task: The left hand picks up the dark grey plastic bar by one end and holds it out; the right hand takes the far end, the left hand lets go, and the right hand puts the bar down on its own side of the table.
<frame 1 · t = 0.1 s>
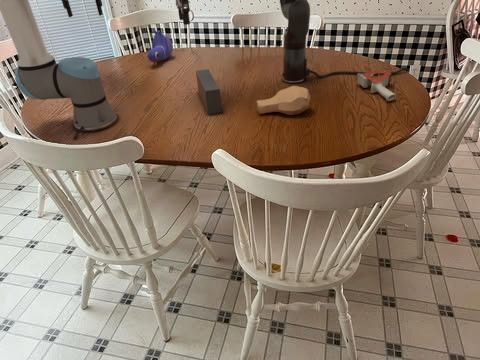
left hand: (86, 15, 157), 28 cm above the table, tool pointing down, fingers open, 13 cm apart
right hand: (184, 22, 131), 29 cm above the table, tool pointing down, fingers open, 8 cm apart
squash: (283, 112, 132), on the table
bar: (209, 101, 143), on the table
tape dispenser: (376, 90, 144), on the table
toy: (160, 62, 189), on the table
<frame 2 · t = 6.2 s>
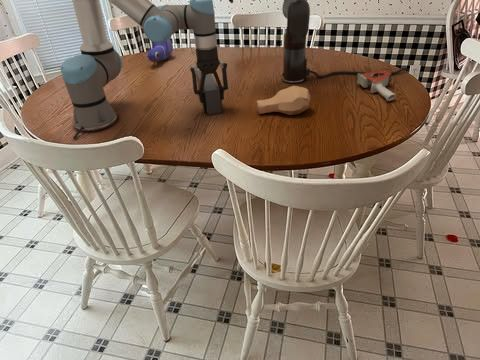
left hand: (212, 108, 137), 1 cm above the table, tool pointing down, fingers closed on bar, 5 cm apart
right hand: (242, 1, 133), 34 cm above the table, tool pointing down, fingers open, 8 cm apart
bar: (209, 101, 143), on the table, touching left hand
everything else where it was.
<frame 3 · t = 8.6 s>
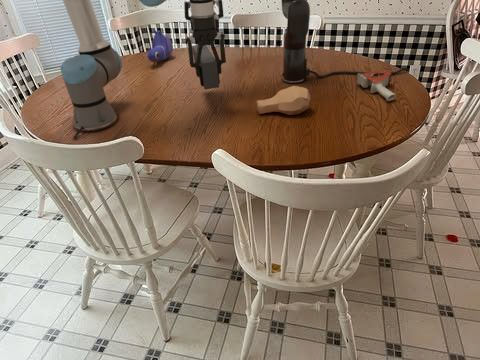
left hand: (210, 83, 131), 11 cm above the table, tool pointing down, fingers closed on bar, 5 cm apart
right hand: (205, 30, 135), 25 cm above the table, tool pointing down, fingers open, 8 cm apart
bar: (206, 77, 137), point 10 cm above the table, touching left hand
everything else where it was.
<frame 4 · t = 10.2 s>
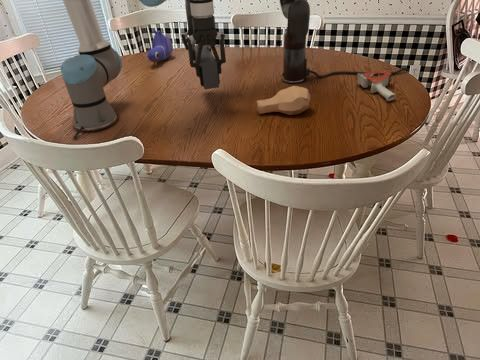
left hand: (210, 83, 131), 11 cm above the table, tool pointing down, fingers closed on bar, 5 cm apart
right hand: (201, 58, 141), 15 cm above the table, tool pointing down, fingers closed on bar, 5 cm apart
bar: (206, 77, 137), point 10 cm above the table, touching left hand, right hand
everything else where it was.
when the left hand's fingers open (11 cm above the table, at t = 11.2 s): bar stays where it is, held by the right hand.
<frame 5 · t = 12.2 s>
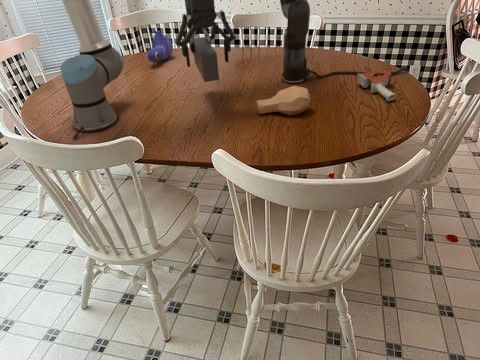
left hand: (207, 63, 125), 19 cm above the table, tool pointing down, fingers open, 13 cm apart
right hand: (201, 51, 139), 18 cm above the table, tool pointing down, fingers closed on bar, 5 cm apart
bar: (206, 70, 136), point 13 cm above the table, touching right hand
everything else where it was.
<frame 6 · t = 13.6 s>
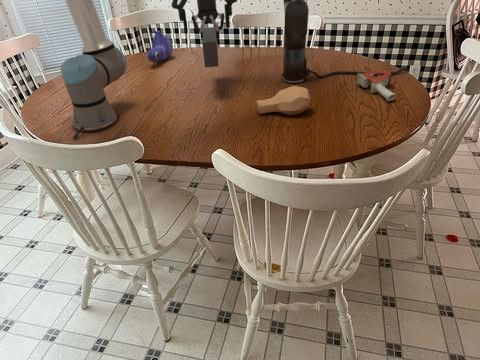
left hand: (207, 29, 114), 31 cm above the table, tool pointing down, fingers open, 13 cm apart
right hand: (210, 40, 152), 18 cm above the table, tool pointing down, fingers closed on bar, 5 cm apart
bar: (211, 57, 148), point 13 cm above the table, touching right hand
everything else where it was.
when the right hand's fingers open (6 cm above the table, at t = 16.9 s): bar stays where it is, on the table.
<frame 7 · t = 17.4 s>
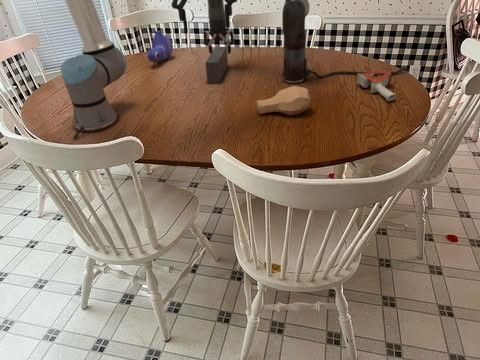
left hand: (207, 29, 114), 31 cm above the table, tool pointing down, fingers open, 13 cm apart
right hand: (220, 53, 170), 7 cm above the table, tool pointing down, fingers open, 8 cm apart
bar: (218, 74, 169), on the table
everything else where it was.
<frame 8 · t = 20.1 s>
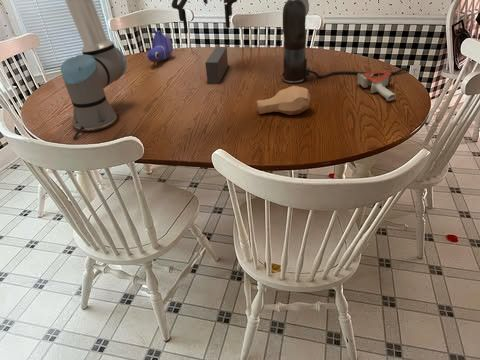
left hand: (207, 29, 114), 31 cm above the table, tool pointing down, fingers open, 13 cm apart
right hand: (215, 3, 157), 29 cm above the table, tool pointing down, fingers open, 8 cm apart
nothing on the table moved.
at the end: bar inside the target area (7.8 cm from its centre), on the table; the left hand is holding nothing; the right hand is holding nothing; bar at rest at the end (0.0 cm/s) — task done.
